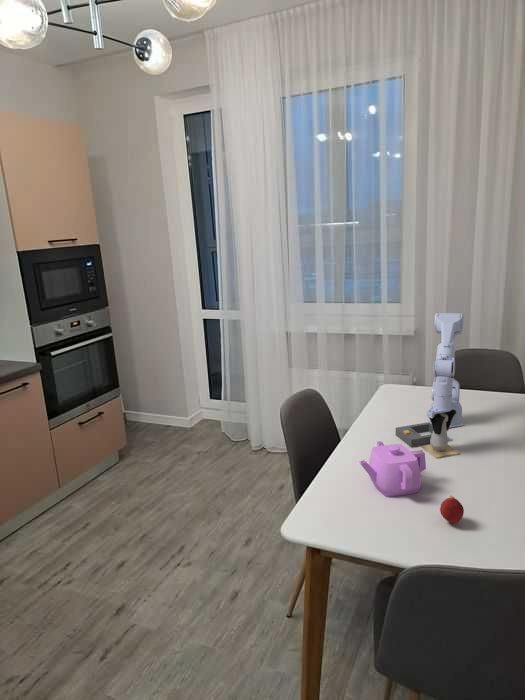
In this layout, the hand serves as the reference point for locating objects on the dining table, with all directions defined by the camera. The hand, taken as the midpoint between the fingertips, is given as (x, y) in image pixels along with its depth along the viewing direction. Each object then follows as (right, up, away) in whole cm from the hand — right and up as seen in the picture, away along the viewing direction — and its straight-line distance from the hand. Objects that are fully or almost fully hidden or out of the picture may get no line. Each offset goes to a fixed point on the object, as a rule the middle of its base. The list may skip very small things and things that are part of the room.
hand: (441, 431), depth 167 cm
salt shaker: (0, -6, +2) cm, 7 cm away
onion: (-11, -18, -37) cm, 43 cm away
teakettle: (-21, -13, -17) cm, 30 cm away
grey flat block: (-3, -4, +12) cm, 13 cm away
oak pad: (0, -7, +2) cm, 7 cm away
